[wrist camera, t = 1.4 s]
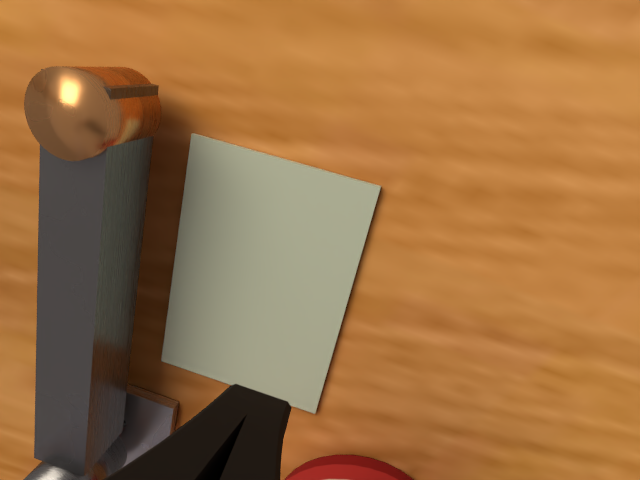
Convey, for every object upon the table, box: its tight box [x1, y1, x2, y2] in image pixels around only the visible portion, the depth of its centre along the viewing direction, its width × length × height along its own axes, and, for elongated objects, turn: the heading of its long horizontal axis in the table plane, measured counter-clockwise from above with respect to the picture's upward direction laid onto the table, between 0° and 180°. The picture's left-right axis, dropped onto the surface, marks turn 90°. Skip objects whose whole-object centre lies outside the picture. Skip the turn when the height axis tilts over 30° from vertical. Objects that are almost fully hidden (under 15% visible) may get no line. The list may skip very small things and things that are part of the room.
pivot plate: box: [119, 384, 179, 467], centre depth 23 cm, size 6×6×1 cm
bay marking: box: [161, 133, 381, 414], centre depth 19 cm, size 10×7×1 cm
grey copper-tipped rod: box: [24, 66, 161, 480], centre depth 18 cm, size 18×3×3 cm, turn 166°
